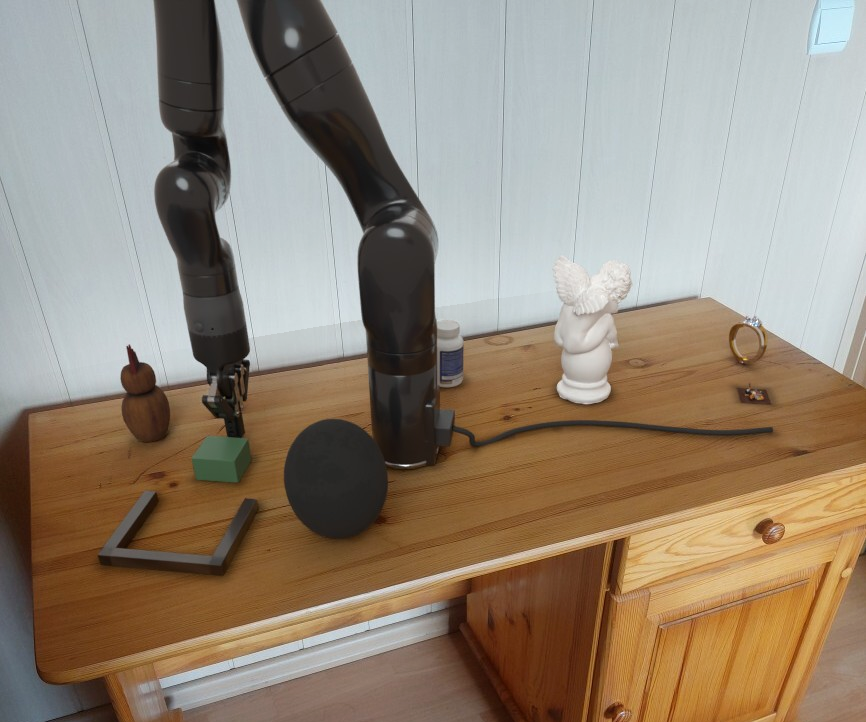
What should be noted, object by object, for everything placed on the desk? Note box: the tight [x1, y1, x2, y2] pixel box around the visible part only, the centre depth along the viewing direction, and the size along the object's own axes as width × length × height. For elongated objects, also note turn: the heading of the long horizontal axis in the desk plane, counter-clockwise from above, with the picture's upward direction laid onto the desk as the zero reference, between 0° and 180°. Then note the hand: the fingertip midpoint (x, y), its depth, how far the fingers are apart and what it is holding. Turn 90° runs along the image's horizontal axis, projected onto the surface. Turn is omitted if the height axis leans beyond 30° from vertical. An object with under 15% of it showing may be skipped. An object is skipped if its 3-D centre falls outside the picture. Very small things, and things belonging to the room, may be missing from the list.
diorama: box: [736, 382, 772, 405], centre depth 129 cm, size 3×4×2 cm
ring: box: [728, 315, 769, 365], centre depth 136 cm, size 7×3×8 cm, turn 26°
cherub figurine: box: [552, 254, 633, 405], centre depth 122 cm, size 12×12×22 cm
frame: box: [97, 490, 259, 577], centre depth 101 cm, size 15×14×2 cm
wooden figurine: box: [119, 343, 171, 443], centre depth 116 cm, size 7×6×15 cm
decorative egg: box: [283, 418, 389, 540], centre depth 98 cm, size 12×12×15 cm
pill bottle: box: [437, 319, 465, 389], centre depth 131 cm, size 5×5×10 cm
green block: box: [190, 435, 253, 484], centre depth 112 cm, size 6×6×4 cm
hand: (236, 436), depth 117 cm, fingers closed
